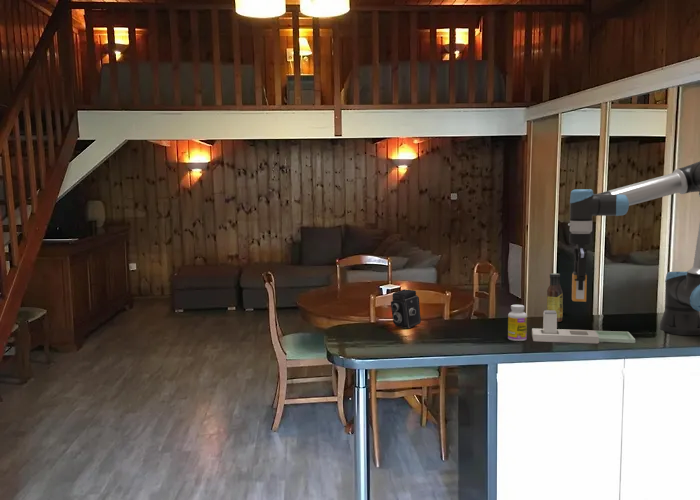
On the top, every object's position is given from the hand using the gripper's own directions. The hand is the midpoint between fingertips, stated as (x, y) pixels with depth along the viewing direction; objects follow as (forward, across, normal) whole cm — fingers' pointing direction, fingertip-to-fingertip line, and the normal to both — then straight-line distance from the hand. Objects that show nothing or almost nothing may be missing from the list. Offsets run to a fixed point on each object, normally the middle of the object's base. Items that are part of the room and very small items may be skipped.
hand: (579, 297), depth 219 cm
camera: (+17, -13, -65) cm, 69 cm away
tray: (+16, -4, +13) cm, 21 cm away
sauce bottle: (+16, -34, -5) cm, 38 cm away
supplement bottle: (+16, +2, -21) cm, 27 cm away
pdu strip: (+16, 0, -5) cm, 17 cm away
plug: (+1, 0, 0) cm, 1 cm away
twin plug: (+15, 0, -10) cm, 18 cm away
